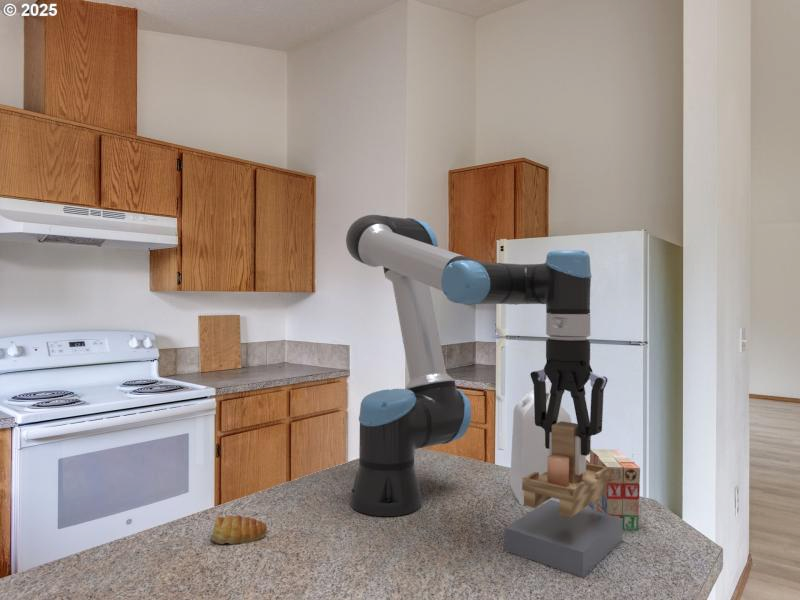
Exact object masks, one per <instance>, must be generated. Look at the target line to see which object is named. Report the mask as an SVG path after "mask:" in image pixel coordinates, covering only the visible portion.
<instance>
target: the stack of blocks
mask: <svg viewBox="0 0 800 600" xmlns="http://www.w3.org/2000/svg"><path fill="white" fill-rule="evenodd" d="M586 463H588V464H593V465H598V466H603V467H608V468H609V479H608V480H607V492H606V493H605V494H604V495H602V496H601V497H599V498H598V499H596V500H595V501H594V502H592V503H591V504H589V505H588V507H590V508H591V511H595V512H599V513H603V514H607V515H611V516H615V517H618V518H622V519H623V531H639V522H640V521H639V519H640V515H639V511H640V510H639V509H640V503H639V502H640V501H639V499H640V494H641V493H640V491H641V490H640V489H641V487H640V485H641V484H640V481H641V468H640V467H639V465H637V464H636V463H635V461H634V460H633V459H632V458H630V457H629V456H628V455H626V454H624V452H623V451H621V450H620V449H607V448H605V449H604V448H602V449H600V448H599V449H597V448H591V451H590V454H589V455H587V456H586Z"/></svg>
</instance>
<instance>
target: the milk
mask: <svg viewBox="0 0 800 600" xmlns="http://www.w3.org/2000/svg"><path fill="white" fill-rule="evenodd" d="M545 383H546V410H548V405H549V400H550V395H551V394H550V384H549V383H550V380H549V379H548V378H546V380H545ZM512 417H513V418H512V419H513V420H512V437H511V438H512V440H511V456H510V457H511V459H510V474H509V475H510V477H509V486H510V488H511V490H512V492H513V494H514V496H515V498H516V500H517V499H518V500H517V502H518V501H519V502H518V503H520V504H519V505H524V490H522V478H524V477H526V476H528V475H530V474H532V473H534V472H539V475H541V474H543V473H545V472H547V456H549V449H547V448H546V447H545V430H544V429H543V428H542V427H540V426H536V425H535V413H534V388H533V389H532V390H530V391H529V392H527V393H526V394H524V395H523V397H522V398H521V399H520V400H519V401H518V402H517V403H516V404H515V406H514V408H513V416H512ZM561 421H563V422H569V423H573V422H572V419H571V415H570V414H569V412H568V411H566V409H565V408H564V407H563V406H562V404H561V405H560V410H559V415H558V419H557V423H558V422H561ZM549 500H553V501H557V502H559V499H557V498H553V497H552V498H550V499H548V500H547V501H545V502H543V503H542V504H545V503H546V502H548V501H549Z"/></svg>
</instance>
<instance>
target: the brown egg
mask: <svg viewBox="0 0 800 600" xmlns="http://www.w3.org/2000/svg"><path fill="white" fill-rule="evenodd" d="M547 483H550V484H555V485H559V486H563V487H568V486H569V458H568V457H567V456H563V455H549V456H547Z"/></svg>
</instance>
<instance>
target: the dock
mask: <svg viewBox="0 0 800 600" xmlns="http://www.w3.org/2000/svg"><path fill="white" fill-rule="evenodd" d="M623 531H624V530H623V519H622V518H618V517H615V516H611V515H607V514H603V513H599V512H595V511H593V510H592V509H591V510H590V509H587V508H584V509H582V510H581V511H579V512H578V513H577V514H575V515H574V516H572V517H567V516H563V515H560V514H559V502H557V501H553V500H549V501H548V502H546V503H545V504H543V505H539V506H537V507H535V508H534V509H533V510H531V511H530V512H528V513H526V514H525V515H523V516H521V517H520V518H519V519H516V520H514V521H513V522H512V523H510V524H508V525H507V526H505V527H504V539H503V540H504V545H503V548H504V550H505V551H504V550H503V551H504V552H506V551H508V552H507V553H509V552H510V554H512V553H514V554H513V555H515V554H517V555H516V556H518V555H520V556H519V557H521V556H523V557H522V558H524V557H526V558H525V559H527V558H529V559H528V560H530V559H532V560H531V561H533V560H535V561H534V562H536V561H537V563H539V562H540V563H539V564H541V563H543V564H542V565H544V564H546V565H545V566H547V565H549V566H548V567H550V566H551V568H553V567H554V569H556V568H557V570H559V571H563V572H565V573H568V574H571V575H574V576H576V577H579V576H580V578H584V577H586V576H587V574H589V573H590V572H591V571H592V570H593V569H594V568H595V567H596V566H597V565H598V564H599V563H600V562H601V561H602V560H604V558H606V557H607V556H608V555H607V554H608V553H609V554H610V553H611V552H612V551H613V550H614V549H615V548H616V547H617V546H618V545H619V544H621V542H623ZM610 551H611V552H610ZM595 565H596V566H595ZM593 567H594V568H593ZM592 568H593V569H592ZM591 569H592V570H591ZM590 570H591V571H590ZM589 571H590V572H589Z"/></svg>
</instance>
